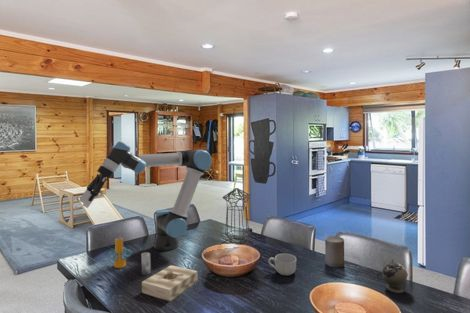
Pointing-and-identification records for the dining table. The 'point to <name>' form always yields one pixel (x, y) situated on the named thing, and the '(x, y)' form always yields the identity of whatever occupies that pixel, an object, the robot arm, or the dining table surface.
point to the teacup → (284, 264)
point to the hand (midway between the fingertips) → (83, 204)
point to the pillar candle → (334, 251)
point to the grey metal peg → (146, 263)
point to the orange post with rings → (119, 254)
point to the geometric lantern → (234, 213)
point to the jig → (169, 282)
